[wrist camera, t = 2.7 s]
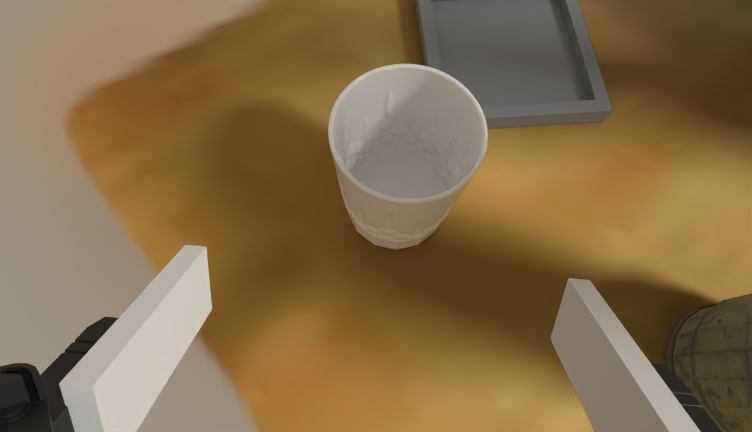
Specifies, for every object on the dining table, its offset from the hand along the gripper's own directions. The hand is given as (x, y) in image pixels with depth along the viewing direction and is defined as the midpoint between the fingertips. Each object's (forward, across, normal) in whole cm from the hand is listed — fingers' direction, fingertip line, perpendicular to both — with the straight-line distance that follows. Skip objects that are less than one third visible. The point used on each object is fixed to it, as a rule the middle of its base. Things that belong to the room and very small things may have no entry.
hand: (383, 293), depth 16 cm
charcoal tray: (+25, +8, +7) cm, 27 cm away
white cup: (+15, +1, -3) cm, 16 cm away
